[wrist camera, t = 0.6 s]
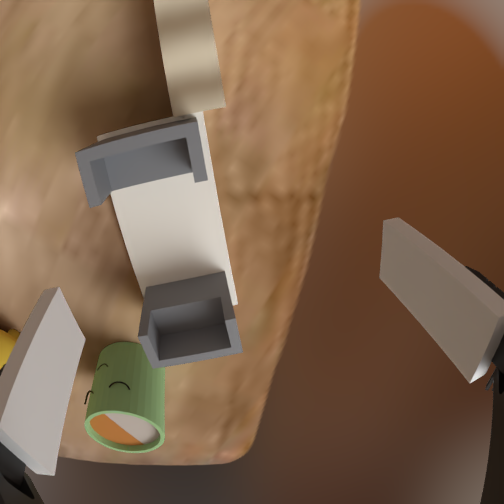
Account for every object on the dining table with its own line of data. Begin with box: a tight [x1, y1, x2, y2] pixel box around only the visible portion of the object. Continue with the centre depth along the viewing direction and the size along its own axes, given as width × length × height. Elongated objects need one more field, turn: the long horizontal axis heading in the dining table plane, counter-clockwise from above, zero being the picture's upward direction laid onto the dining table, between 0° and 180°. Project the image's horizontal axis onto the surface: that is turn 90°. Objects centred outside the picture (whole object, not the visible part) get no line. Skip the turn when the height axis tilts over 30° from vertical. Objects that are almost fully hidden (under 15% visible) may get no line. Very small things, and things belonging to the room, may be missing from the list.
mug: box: [84, 342, 165, 453], centre depth 38 cm, size 13×10×12 cm
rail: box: [154, 0, 226, 117], centre depth 24 cm, size 17×4×6 cm, turn 9°
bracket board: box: [75, 111, 243, 369], centre depth 31 cm, size 23×11×10 cm, turn 8°
